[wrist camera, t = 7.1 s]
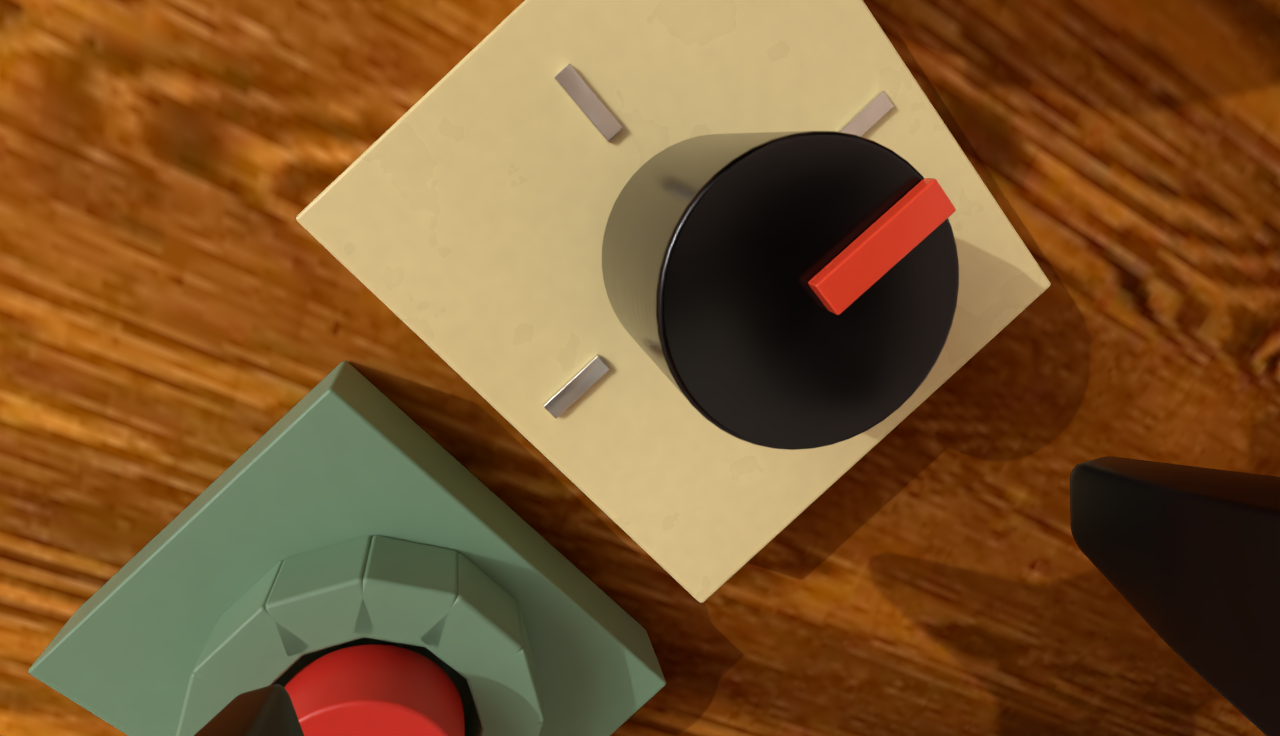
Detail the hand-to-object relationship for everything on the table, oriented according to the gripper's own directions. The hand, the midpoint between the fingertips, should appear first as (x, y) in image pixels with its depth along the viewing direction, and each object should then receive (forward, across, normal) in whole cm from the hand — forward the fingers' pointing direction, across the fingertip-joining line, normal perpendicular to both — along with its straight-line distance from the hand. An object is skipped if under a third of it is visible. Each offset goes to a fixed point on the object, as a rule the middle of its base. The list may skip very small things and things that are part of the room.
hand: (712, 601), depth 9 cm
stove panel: (+10, -3, -2) cm, 11 cm away
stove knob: (+7, -3, -2) cm, 8 cm away
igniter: (+10, +6, +5) cm, 13 cm away
